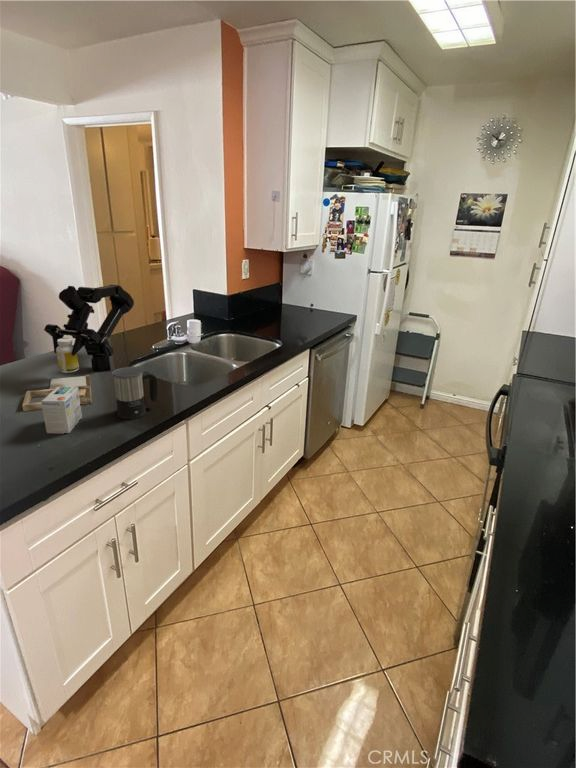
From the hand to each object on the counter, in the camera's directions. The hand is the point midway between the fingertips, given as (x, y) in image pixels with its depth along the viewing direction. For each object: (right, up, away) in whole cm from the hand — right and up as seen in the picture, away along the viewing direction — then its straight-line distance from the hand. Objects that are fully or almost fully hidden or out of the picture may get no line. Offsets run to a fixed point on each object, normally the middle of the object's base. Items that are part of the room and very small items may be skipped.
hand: (64, 354), depth 147 cm
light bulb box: (+12, -24, -20) cm, 33 cm away
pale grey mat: (-2, -11, +7) cm, 13 cm away
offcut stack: (+6, -16, -3) cm, 17 cm away
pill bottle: (0, -6, +4) cm, 7 cm away
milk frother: (+27, -19, -7) cm, 33 cm away
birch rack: (+1, -16, -5) cm, 17 cm away
